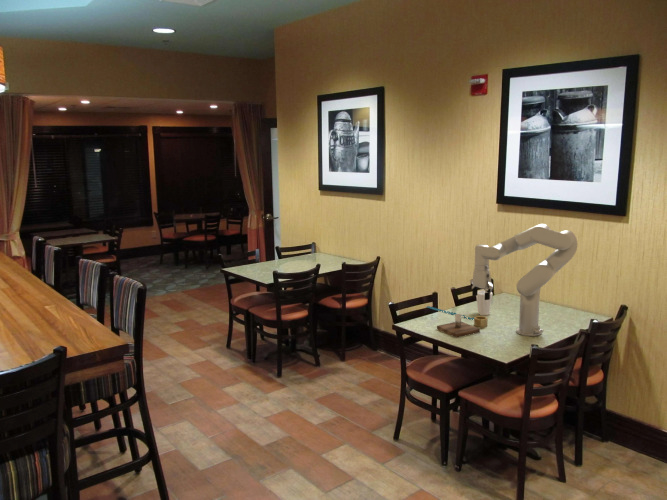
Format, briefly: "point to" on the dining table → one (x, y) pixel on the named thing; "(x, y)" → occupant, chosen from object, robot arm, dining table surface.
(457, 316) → the steel post
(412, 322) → the dining table surface
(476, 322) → the brass ring
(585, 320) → the dining table surface
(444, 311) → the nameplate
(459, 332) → the walnut board
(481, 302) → the foam cup
